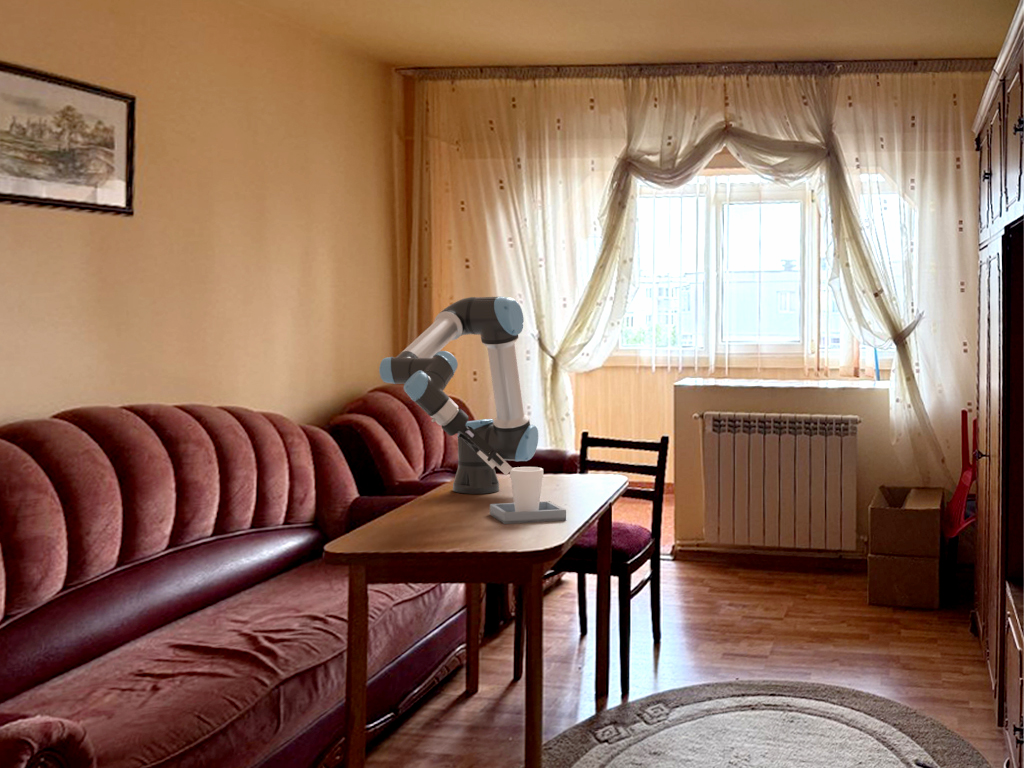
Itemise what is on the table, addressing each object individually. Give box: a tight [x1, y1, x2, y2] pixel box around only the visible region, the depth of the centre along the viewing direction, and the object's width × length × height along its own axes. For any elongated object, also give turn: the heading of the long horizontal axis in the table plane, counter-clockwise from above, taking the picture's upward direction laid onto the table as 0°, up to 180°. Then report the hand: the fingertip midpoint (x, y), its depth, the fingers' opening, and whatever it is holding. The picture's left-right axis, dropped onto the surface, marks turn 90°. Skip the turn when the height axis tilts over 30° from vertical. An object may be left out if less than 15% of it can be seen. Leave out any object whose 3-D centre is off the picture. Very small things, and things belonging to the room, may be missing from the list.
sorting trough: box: [489, 500, 567, 525], centre depth 323 cm, size 15×18×3 cm
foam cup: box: [509, 466, 544, 512], centre depth 323 cm, size 10×9×13 cm
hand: (502, 468), depth 320 cm, fingers open, 13 cm apart
